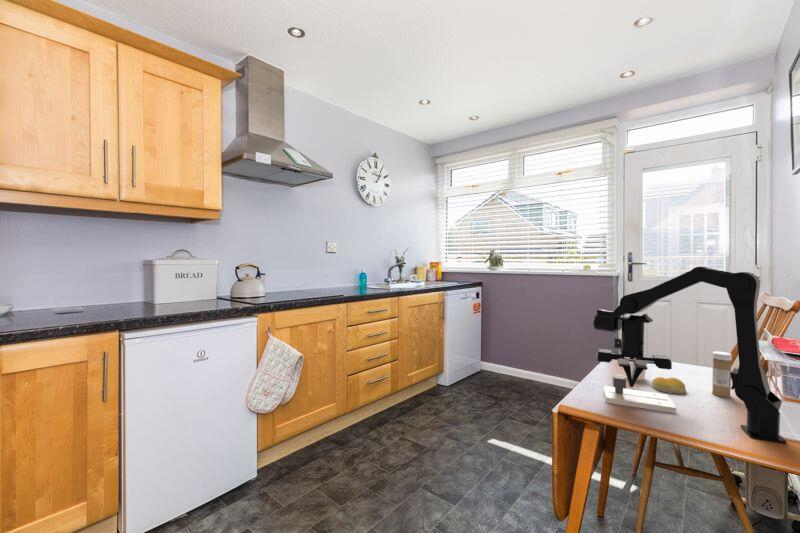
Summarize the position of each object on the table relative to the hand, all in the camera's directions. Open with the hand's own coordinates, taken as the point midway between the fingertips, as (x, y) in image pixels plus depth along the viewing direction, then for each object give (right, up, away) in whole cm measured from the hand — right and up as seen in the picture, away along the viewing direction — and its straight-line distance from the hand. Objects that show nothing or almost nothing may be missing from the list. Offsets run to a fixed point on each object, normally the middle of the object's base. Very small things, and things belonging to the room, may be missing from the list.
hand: (631, 386), depth 111 cm
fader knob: (-3, -2, +1) cm, 4 cm away
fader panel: (+1, -4, -1) cm, 4 cm away
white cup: (+15, -4, +21) cm, 26 cm away
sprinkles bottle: (+31, -4, +4) cm, 32 cm away
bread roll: (+18, -4, +9) cm, 21 cm away
